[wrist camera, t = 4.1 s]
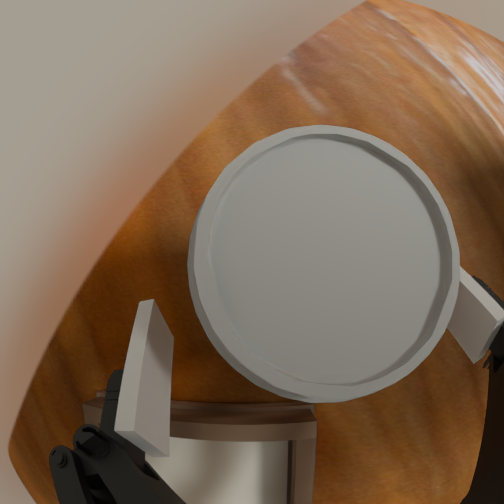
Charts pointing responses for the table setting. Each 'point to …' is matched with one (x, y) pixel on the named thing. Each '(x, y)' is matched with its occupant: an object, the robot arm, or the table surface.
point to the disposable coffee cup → (323, 264)
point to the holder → (235, 451)
